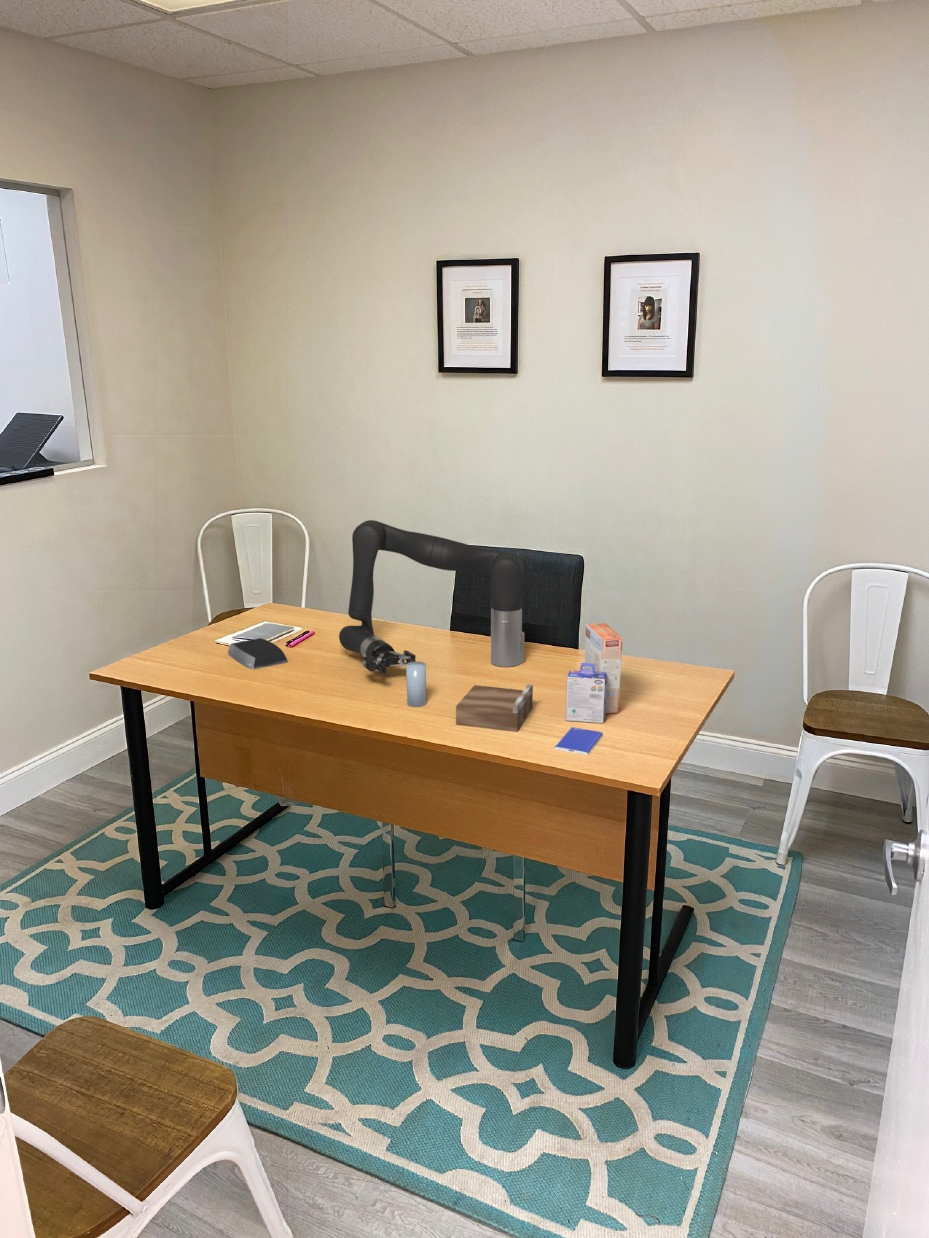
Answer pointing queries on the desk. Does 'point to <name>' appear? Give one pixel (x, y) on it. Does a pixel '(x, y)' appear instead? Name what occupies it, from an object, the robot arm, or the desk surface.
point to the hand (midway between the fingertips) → (399, 668)
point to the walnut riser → (495, 707)
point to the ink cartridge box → (586, 695)
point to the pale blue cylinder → (416, 684)
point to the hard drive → (579, 741)
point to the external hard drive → (257, 653)
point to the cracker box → (605, 659)
